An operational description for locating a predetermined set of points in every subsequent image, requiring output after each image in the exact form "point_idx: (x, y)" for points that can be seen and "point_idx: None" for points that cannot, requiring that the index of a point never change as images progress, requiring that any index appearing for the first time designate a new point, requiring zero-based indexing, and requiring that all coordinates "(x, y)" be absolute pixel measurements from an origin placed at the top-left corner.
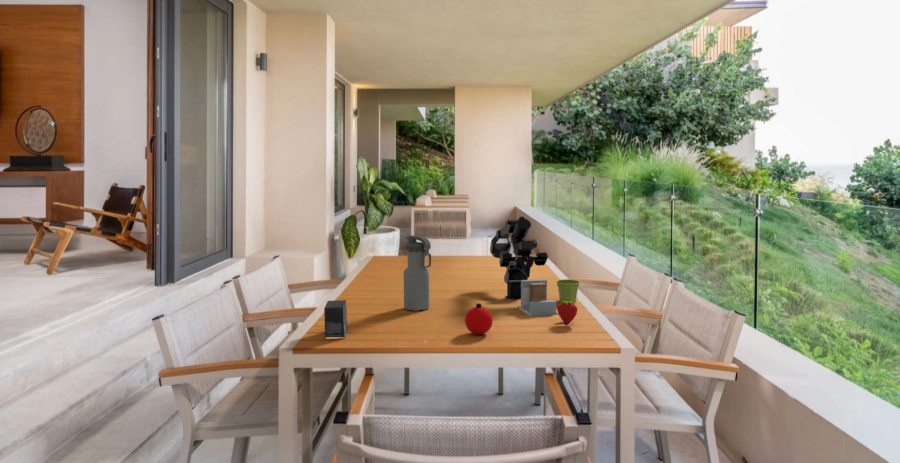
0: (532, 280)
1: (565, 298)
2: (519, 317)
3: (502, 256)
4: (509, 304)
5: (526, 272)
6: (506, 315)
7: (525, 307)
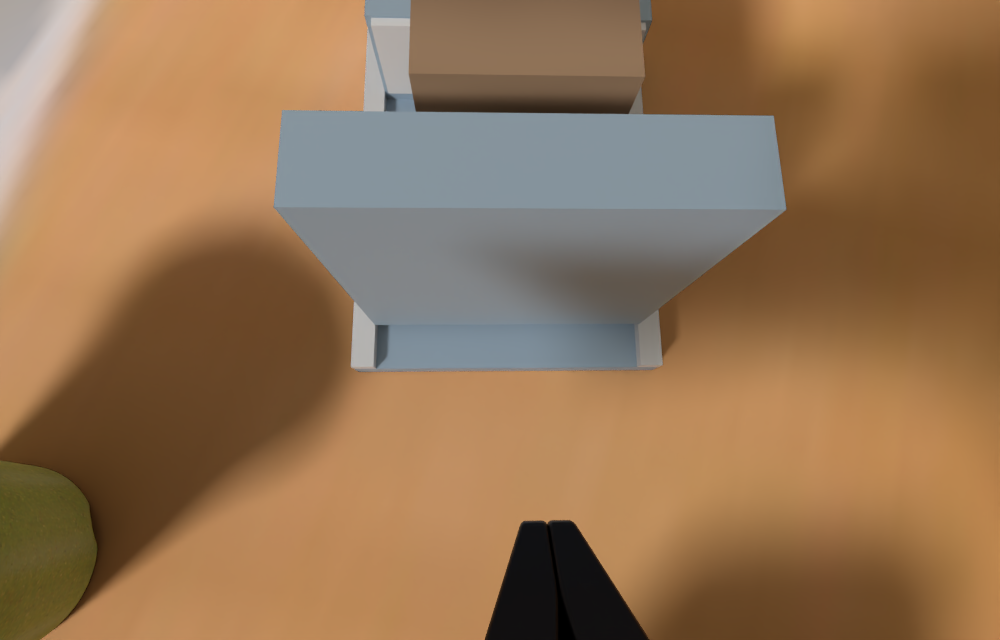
0: (572, 143)
1: (29, 479)
2: (704, 87)
3: None
4: (686, 616)
5: (604, 599)
6: (799, 169)
7: (584, 336)
